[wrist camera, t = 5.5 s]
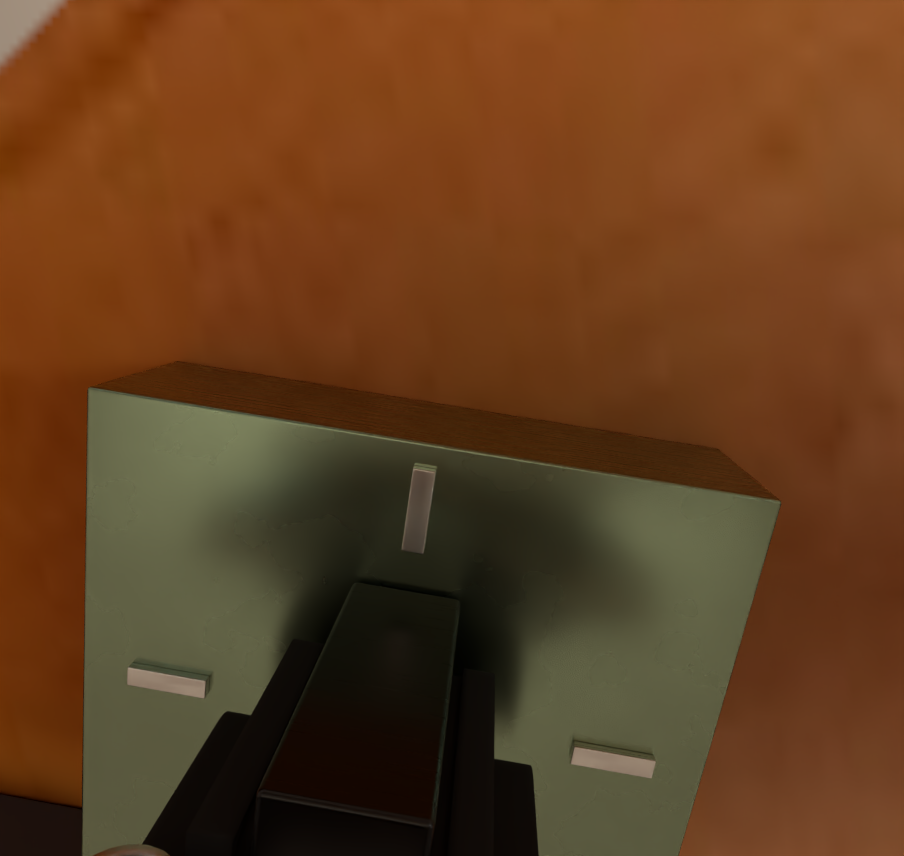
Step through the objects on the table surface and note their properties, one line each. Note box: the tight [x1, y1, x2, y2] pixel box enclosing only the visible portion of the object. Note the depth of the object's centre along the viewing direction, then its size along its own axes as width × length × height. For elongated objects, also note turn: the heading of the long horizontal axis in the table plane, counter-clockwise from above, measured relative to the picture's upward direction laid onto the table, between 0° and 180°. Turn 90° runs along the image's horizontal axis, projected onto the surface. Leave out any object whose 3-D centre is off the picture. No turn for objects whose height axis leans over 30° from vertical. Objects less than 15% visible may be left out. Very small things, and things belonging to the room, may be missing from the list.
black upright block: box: [251, 583, 460, 856], centre depth 9 cm, size 5×2×5 cm, turn 171°
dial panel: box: [81, 361, 781, 856], centre depth 13 cm, size 11×10×3 cm
